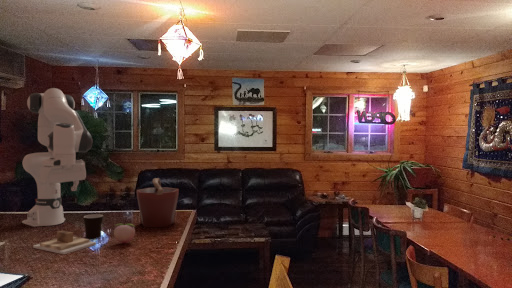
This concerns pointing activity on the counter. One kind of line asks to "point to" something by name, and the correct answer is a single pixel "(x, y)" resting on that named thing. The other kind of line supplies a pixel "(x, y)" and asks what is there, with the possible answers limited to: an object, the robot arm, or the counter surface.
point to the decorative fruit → (124, 232)
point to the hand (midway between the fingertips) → (64, 192)
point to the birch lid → (64, 241)
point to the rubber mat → (65, 249)
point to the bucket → (157, 205)
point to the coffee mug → (93, 225)
